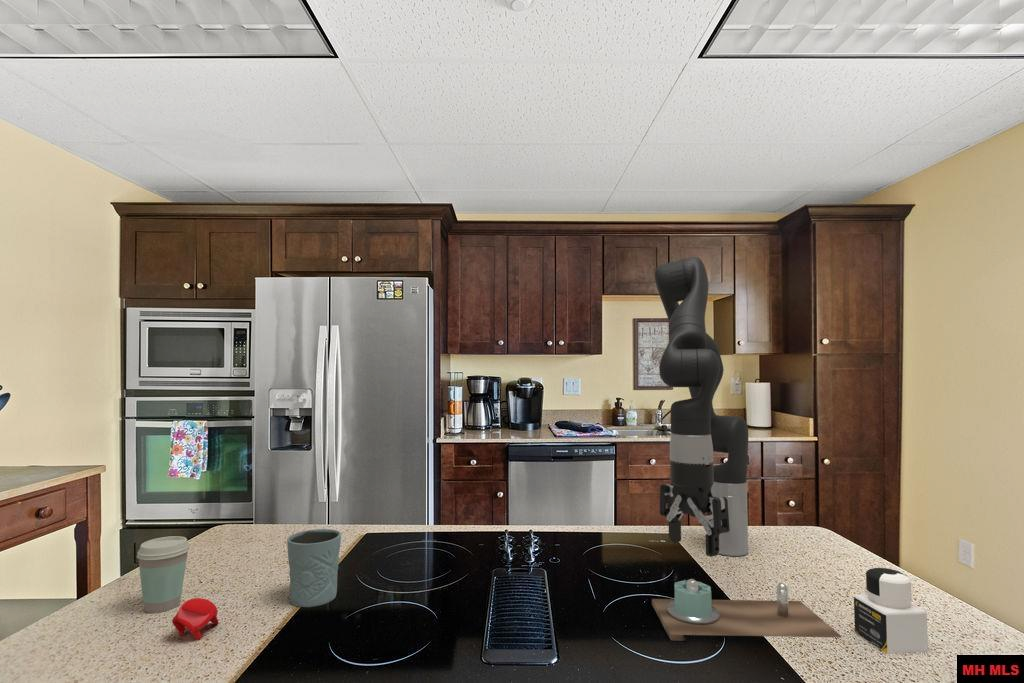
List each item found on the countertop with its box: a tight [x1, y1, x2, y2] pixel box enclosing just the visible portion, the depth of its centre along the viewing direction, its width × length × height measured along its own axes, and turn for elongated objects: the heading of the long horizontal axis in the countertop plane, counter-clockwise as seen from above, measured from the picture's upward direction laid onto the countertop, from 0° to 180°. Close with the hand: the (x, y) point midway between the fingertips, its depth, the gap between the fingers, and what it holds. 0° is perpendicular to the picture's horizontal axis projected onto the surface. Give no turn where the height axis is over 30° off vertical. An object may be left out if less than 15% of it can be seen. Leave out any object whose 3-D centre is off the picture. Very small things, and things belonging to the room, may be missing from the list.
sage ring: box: [674, 579, 712, 618], centre depth 98 cm, size 6×6×4 cm
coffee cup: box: [136, 535, 191, 614], centre depth 103 cm, size 8×8×12 cm
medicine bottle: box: [853, 567, 929, 654], centre depth 88 cm, size 7×7×12 cm
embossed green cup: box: [286, 528, 342, 608], centre depth 107 cm, size 10×10×12 cm
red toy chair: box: [171, 597, 219, 641], centre depth 93 cm, size 8×6×6 cm
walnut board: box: [651, 598, 843, 642], centre depth 97 cm, size 14×28×1 cm, turn 88°
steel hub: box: [667, 578, 719, 625], centre depth 98 cm, size 9×9×6 cm
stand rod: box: [776, 582, 789, 617], centre depth 98 cm, size 2×2×6 cm
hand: (693, 548), depth 99 cm, fingers open, 8 cm apart
